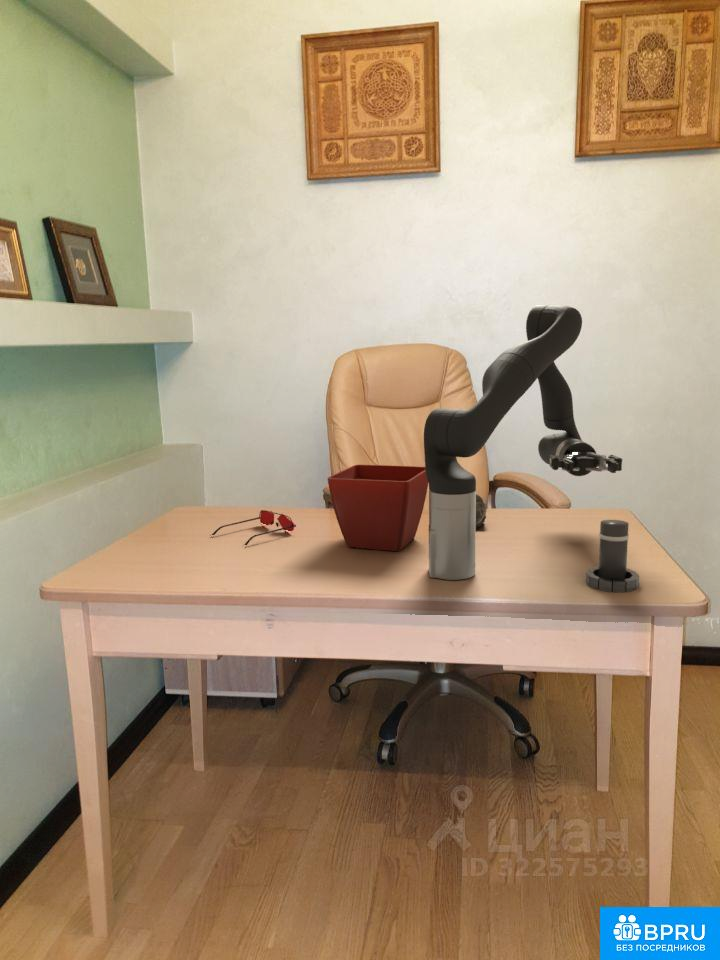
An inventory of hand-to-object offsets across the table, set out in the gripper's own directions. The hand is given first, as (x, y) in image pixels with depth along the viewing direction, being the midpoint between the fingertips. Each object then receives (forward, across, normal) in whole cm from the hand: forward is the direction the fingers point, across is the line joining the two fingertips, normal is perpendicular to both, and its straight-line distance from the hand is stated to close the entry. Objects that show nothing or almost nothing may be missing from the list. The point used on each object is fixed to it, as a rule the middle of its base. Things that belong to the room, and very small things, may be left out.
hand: (593, 467), depth 153 cm
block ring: (+12, +2, +21) cm, 24 cm away
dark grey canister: (+12, +2, +21) cm, 24 cm away
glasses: (-24, -75, +22) cm, 82 cm away
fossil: (-32, -23, +20) cm, 45 cm away
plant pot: (-17, -43, +21) cm, 51 cm away
